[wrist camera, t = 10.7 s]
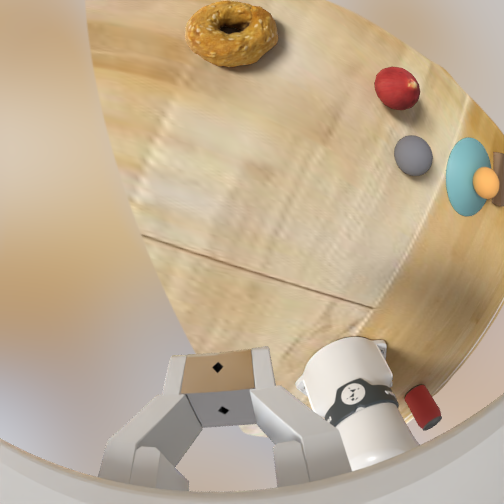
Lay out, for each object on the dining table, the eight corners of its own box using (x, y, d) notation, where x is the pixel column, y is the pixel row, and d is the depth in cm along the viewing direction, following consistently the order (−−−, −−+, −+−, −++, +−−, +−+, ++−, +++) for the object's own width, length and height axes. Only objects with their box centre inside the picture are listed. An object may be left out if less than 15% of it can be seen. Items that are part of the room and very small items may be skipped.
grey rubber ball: (427, 146, 25) (400, 176, 29) (445, 162, 27) (421, 188, 31) (403, 121, 28) (380, 150, 32) (424, 137, 30) (402, 163, 34)
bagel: (276, 72, 27) (282, 61, 23) (185, 71, 27) (177, 60, 22) (277, 10, 24) (283, -7, 19) (192, 9, 23) (186, -8, 19)
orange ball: (505, 196, 29) (496, 197, 28) (483, 199, 35) (471, 201, 33) (498, 164, 29) (488, 163, 28) (476, 170, 34) (464, 169, 33)
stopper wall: (498, 152, 32) (507, 154, 29) (496, 202, 36) (505, 205, 33) (493, 151, 32) (502, 153, 29) (491, 202, 36) (500, 206, 33)
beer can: (399, 399, 55) (417, 432, 44) (416, 382, 53) (436, 415, 42) (412, 400, 57) (429, 431, 45) (428, 384, 54) (447, 415, 43)
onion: (396, 75, 27) (431, 66, 20) (401, 113, 30) (437, 111, 22) (361, 70, 27) (392, 56, 20) (367, 110, 30) (400, 105, 22)
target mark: (494, 198, 35) (495, 199, 35) (453, 228, 37) (453, 229, 37) (482, 129, 30) (483, 129, 30) (437, 151, 32) (438, 151, 32)
